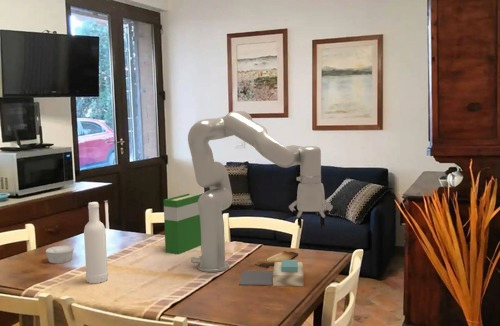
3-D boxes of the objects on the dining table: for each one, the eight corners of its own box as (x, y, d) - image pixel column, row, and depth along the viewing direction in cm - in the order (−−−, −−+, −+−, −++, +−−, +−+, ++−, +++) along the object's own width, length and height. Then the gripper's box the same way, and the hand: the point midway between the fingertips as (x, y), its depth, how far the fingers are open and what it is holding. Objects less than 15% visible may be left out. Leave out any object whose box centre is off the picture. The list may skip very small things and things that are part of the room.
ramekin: (40, 263, 226) (39, 251, 226) (59, 256, 237) (58, 244, 236) (61, 265, 222) (60, 253, 222) (79, 258, 233) (78, 246, 232)
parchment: (284, 251, 238) (284, 249, 238) (303, 254, 232) (303, 252, 232) (252, 266, 218) (252, 264, 218) (272, 270, 212) (272, 268, 212)
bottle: (85, 278, 205) (81, 201, 201) (106, 275, 208) (102, 200, 204) (87, 285, 197) (83, 205, 194) (109, 282, 200) (105, 203, 197)
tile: (281, 272, 196) (281, 266, 196) (282, 264, 205) (282, 259, 205) (297, 272, 195) (297, 267, 195) (297, 264, 204) (297, 259, 204)
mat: (238, 285, 194) (238, 284, 194) (243, 271, 210) (243, 270, 210) (271, 285, 193) (271, 284, 193) (273, 271, 209) (273, 270, 209)
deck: (272, 285, 193) (272, 275, 193) (274, 271, 209) (274, 261, 208) (303, 286, 192) (303, 275, 192) (302, 272, 208) (302, 262, 208)
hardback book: (189, 243, 254) (187, 193, 252) (202, 245, 251) (200, 194, 248) (165, 252, 239) (163, 199, 237) (178, 254, 235) (176, 201, 233)
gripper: (286, 181, 193) (287, 229, 195) (335, 181, 191) (335, 229, 193) (287, 178, 200) (287, 225, 202) (333, 178, 199) (333, 225, 201)
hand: (310, 227), depth 198 cm, fingers open, 7 cm apart
